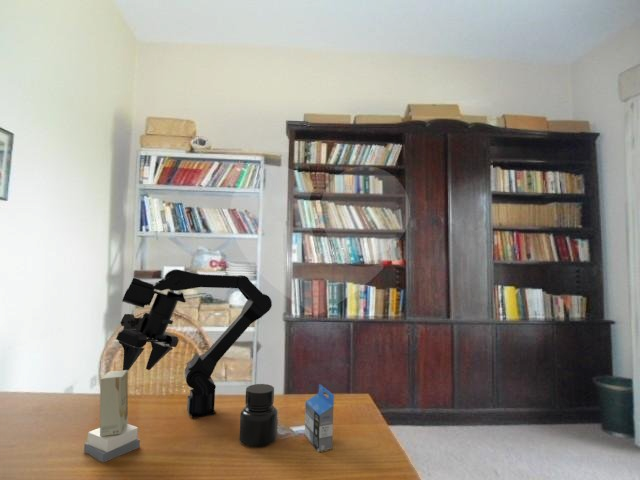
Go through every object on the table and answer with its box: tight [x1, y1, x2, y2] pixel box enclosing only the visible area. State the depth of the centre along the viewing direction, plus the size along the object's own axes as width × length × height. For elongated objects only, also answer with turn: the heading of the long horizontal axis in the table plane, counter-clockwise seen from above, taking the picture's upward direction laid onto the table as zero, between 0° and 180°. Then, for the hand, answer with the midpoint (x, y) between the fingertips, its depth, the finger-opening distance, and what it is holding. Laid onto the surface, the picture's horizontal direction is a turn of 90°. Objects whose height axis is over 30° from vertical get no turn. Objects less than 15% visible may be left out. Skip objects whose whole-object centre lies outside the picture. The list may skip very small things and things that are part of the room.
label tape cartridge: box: [304, 383, 335, 453], centre depth 87 cm, size 9×4×12 cm, turn 24°
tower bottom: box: [83, 437, 141, 464], centre depth 81 cm, size 8×8×2 cm
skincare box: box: [99, 369, 129, 436], centre depth 81 cm, size 6×4×12 cm
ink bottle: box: [238, 383, 279, 448], centre depth 88 cm, size 10×9×12 cm
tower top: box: [87, 423, 139, 452], centre depth 81 cm, size 7×7×2 cm
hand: (136, 370), depth 95 cm, fingers open, 9 cm apart
